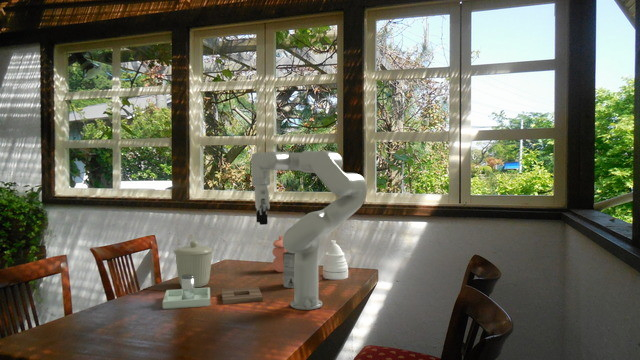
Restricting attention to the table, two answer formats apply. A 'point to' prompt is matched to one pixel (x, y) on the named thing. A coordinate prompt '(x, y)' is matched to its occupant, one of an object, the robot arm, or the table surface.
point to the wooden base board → (241, 295)
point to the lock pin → (187, 287)
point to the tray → (175, 300)
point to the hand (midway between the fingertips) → (261, 223)
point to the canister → (194, 263)
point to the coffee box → (288, 269)
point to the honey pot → (335, 263)
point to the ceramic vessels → (281, 256)
